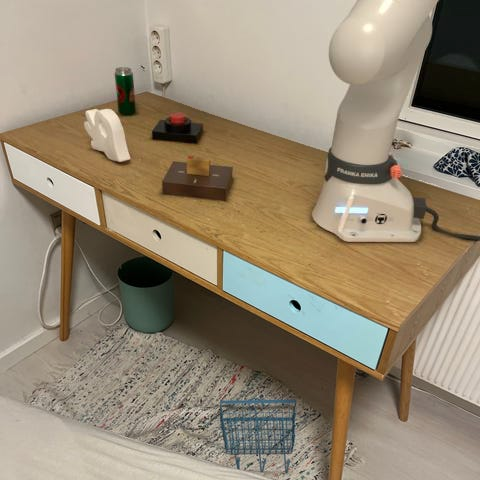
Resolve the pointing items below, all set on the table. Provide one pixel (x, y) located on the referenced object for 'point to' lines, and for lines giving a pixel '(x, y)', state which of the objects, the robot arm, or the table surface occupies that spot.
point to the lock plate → (197, 182)
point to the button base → (177, 131)
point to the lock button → (177, 118)
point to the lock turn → (198, 166)
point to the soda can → (125, 91)
